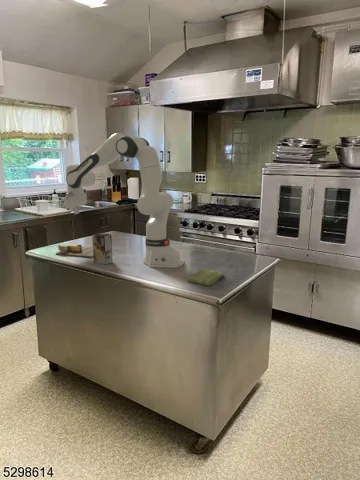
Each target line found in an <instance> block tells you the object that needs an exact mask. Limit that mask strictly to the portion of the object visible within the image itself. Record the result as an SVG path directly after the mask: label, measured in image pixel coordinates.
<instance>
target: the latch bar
mask: <svg viewBox="0 0 360 480" xmlns="http://www.w3.org/2000/svg"><path fill="white" fill-rule="evenodd" d="M62 245H64V246H68V251H78V252H82V247H83V245H82V244H69V243H67V244H66V243H60V244H58V245H57V250H58V251H60V246H62Z"/></svg>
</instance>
